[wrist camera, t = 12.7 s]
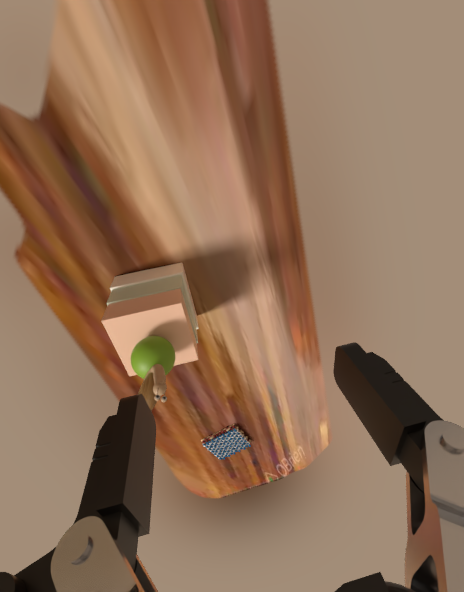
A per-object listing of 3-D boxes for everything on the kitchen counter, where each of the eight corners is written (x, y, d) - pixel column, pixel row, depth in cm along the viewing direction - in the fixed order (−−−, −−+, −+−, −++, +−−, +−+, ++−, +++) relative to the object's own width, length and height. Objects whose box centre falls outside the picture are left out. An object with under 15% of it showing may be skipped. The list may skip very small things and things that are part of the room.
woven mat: (234, 420, 67) (236, 427, 66) (251, 438, 73) (253, 446, 71) (199, 438, 68) (199, 445, 67) (218, 454, 74) (219, 462, 72)
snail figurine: (185, 329, 35) (188, 404, 25) (165, 362, 38) (161, 444, 27) (145, 316, 33) (132, 392, 23) (127, 352, 36) (108, 436, 25)
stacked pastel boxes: (115, 276, 42) (95, 318, 32) (182, 262, 43) (184, 298, 33) (137, 329, 48) (127, 379, 38) (196, 315, 49) (202, 361, 39)
